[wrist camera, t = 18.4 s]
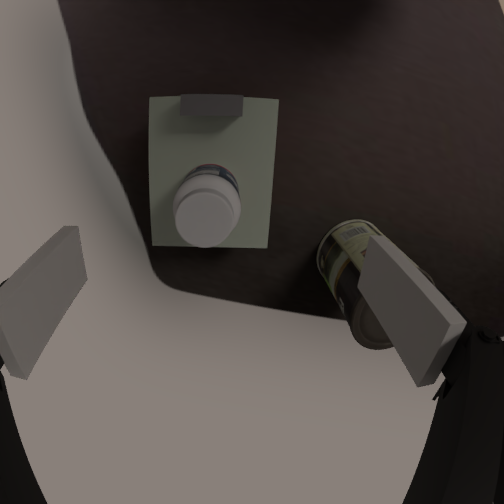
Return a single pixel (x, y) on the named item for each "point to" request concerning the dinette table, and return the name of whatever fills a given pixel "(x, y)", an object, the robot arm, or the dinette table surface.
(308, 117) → the dinette table surface
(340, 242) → the coffee can
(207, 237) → the pill bottle
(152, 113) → the lid
